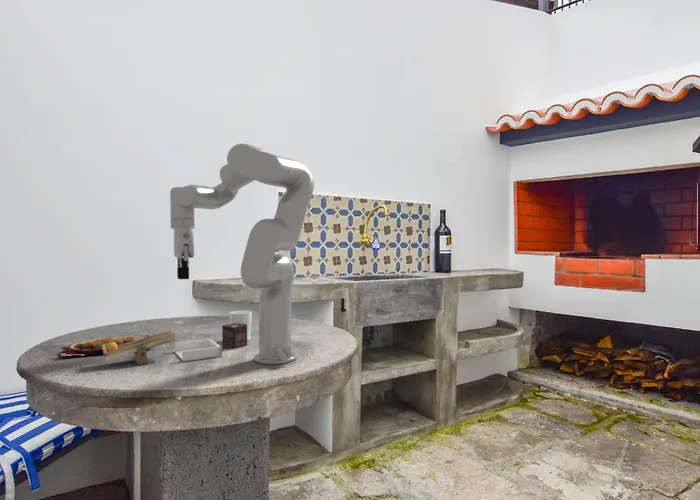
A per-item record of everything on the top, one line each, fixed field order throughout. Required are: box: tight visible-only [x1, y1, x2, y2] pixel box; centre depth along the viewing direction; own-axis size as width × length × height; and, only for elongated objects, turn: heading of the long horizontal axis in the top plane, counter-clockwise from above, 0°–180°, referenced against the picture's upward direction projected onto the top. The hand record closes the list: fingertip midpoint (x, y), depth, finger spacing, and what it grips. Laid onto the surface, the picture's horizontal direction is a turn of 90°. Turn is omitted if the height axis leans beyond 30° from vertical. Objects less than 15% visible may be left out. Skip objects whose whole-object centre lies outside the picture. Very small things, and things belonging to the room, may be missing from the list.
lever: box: [102, 330, 177, 362], centre depth 139 cm, size 13×19×4 cm, turn 121°
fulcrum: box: [133, 346, 148, 366], centre depth 136 cm, size 8×2×5 cm, turn 31°
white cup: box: [229, 310, 253, 341], centre depth 166 cm, size 8×8×10 cm
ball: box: [106, 342, 118, 352], centre depth 132 cm, size 3×3×3 cm
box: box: [221, 323, 248, 350], centre depth 156 cm, size 6×6×7 cm
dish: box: [173, 338, 223, 363], centre depth 144 cm, size 14×12×3 cm
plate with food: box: [57, 334, 150, 358], centre depth 155 cm, size 25×26×4 cm
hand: (183, 278), depth 154 cm, fingers closed
